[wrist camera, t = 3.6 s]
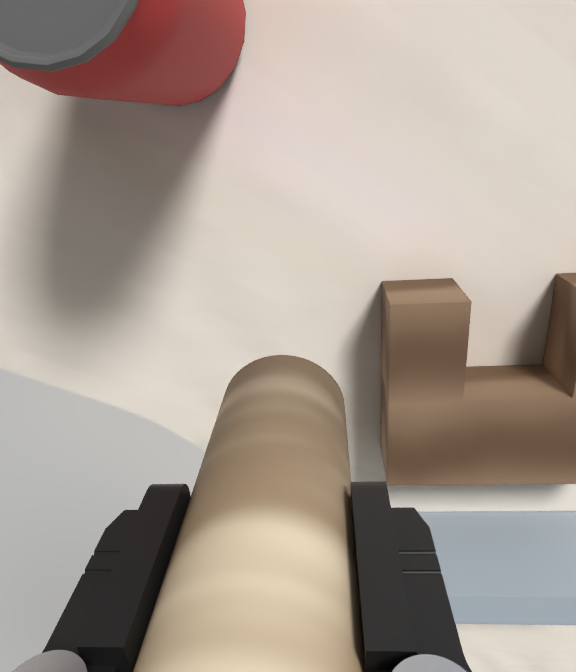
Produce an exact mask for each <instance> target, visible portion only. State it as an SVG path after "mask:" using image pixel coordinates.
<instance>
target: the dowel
mask: <svg viewBox="0 0 576 672" xmlns="http://www.w3.org/2000/svg"><path fill="white" fill-rule="evenodd" d="M350 483H351V474H350V463H349V451H348V440H347V428H346V417H345V405H344V399H343V395H342V392H341V390H340V388H339V386H338V384H337V383H336V381H335V380H334V379H333V377H332V376H331V375H330V374H329V373H328V372H327V371H326V370H324V369H323V368H322V367H320V366H319V365H317V364H315V363H313V362H311V361H309V360H306V359H304V358H300V357H296V356H289V355H275V356H268V357H264V358H261V359H258V360H255V361H253V362H251V363H249V364H248V365H246V366H245V367H243V368H242V369H241V370H240V371H238V372H237V373H236V375H235V376H234V377H233V378H232V380H231V381H230V383H229V385H228V387H227V389H226V392H225V395H224V398H223V401H222V404H221V407H220V410H219V413H218V416H217V419H216V422H215V425H214V428H213V431H212V434H211V437H210V440H209V443H208V446H207V449H206V452H205V456H204V459H203V462H202V465H201V468H200V471H199V474H198V477H197V480H196V483H195V486H194V489H193V492H192V495H191V498H190V501H189V504H188V507H187V510H186V513H185V516H184V519H183V522H182V525H181V528H180V531H179V534H178V537H177V540H176V543H175V546H174V549H173V552H172V555H171V558H170V561H169V564H168V567H167V570H166V573H165V577H164V580H163V583H162V586H161V589H160V592H159V595H158V598H157V601H156V604H155V607H154V610H153V613H152V616H151V619H150V622H149V625H148V628H147V631H146V634H145V637H144V640H143V643H142V646H141V649H140V652H139V655H138V658H137V661H136V664H135V667H134V670H133V672H365V668H364V656H363V644H362V631H361V619H360V607H359V595H358V582H357V570H356V558H355V545H354V533H353V521H352V509H351V494H350Z"/></svg>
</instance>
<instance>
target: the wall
mask: <svg viewBox="0 0 576 672" xmlns="http://www.w3.org/2000/svg"><path fill="white" fill-rule="evenodd" d="M418 513H419V515H420V516H421V517H422V518H423V520H424V521H425V522H426V523H427V525H428V526H429V527H430V530H431V534H432V538H433V542H434V546H435V549H436V555H437V557H438V561H439V564H440V568H441V575H442V576H443V580H444V583H445V587H446V591H447V595H448V598H449V602H450V606H451V610H452V614H453V617H454V621H455V624H521V625H576V511H537V512H418Z"/></svg>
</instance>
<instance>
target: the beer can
mask: <svg viewBox="0 0 576 672" xmlns="http://www.w3.org/2000/svg"><path fill="white" fill-rule="evenodd" d="M245 17H246V12H245V7H244V2H243V0H0V64H1V65H2V66H3V67H5V68H6V69H7V70H8V71H10V72H11V73H13V74H15V75H17V76H18V77H20V78H22V79H24V80H26V81H28V82H31V83H33V84H35V85H37V86H39V87H42V88H44V89H46V90H48V91H50V92H53V93H55V94H57V95H65V96H75V97H85V98H94V99H106V100H117V101H129V102H141V103H152V104H164V105H175V106H181V105H185V104H189V103H192V102H196V101H200V100H202V99H204V98H205V97H207V96H208V95H210V94H211V93H213V92H214V91H215V90H217V89H218V88H220V87H221V86H222V84H223V83H224V82H225V80H226V79H227V78H228V76H229V75H230V74H231V72H232V71H233V69H234V68H235V67H236V64H237V61H238V58H239V55H240V52H241V49H242V46H243V43H244V36H245Z"/></svg>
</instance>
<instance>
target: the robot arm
mask: <svg viewBox="0 0 576 672" xmlns="http://www.w3.org/2000/svg"><path fill="white" fill-rule="evenodd" d="M350 494H351V509H352V521H353V533H354V545H355V558H356V570H357V582H358V595H359V607H360V619H361V631H362V644H363V656H364V668H365V672H472V671H471V670H470V668H469V666H468V664H467V662H466V660H465V657H464V654H463V651H462V647H461V644H460V640H459V636H458V632H457V629H456V625H455V621H454V617H453V614H452V610H451V606H450V602H449V598H448V595H447V591H446V587H445V583H444V580H443V576H442V575H441V568H440V564H439V561H438V557H437V555H436V549H435V546H434V542H433V538H432V534H431V530H430V527H429V526H428V525H427V523H426V522H425V521H424V520H423V518H422V517H421V516H420V515H419V513H418V512H417V511H416V510H415V508H391V506H390V501H389V495H388V490H387V485H386V482H351V483H350ZM190 498H191V496H190V492H189V488H188V486H187V485H186V484H153V485H151V486H149V488H148V489H147V492H146V494H145V496H144V498H143V500H142V503H141V505H140V507H139V509H138V510H124V511H123V512H122V513H121V514H120V515H119V516H118V517H117V518H116V519H115V520H114V521H113V522H112V523H111V524H110V525H109V526H108V527H107V528H106V529H105V531H104V533H103V535H102V537H101V539H100V541H99V543H98V545H97V547H96V549H95V551H94V555H92V557H91V559H90V560H89V563H88V565H87V566H86V568H85V574H82V576H81V578H80V580H79V582H78V584H77V586H76V588H75V590H74V592H73V594H72V596H71V598H70V600H69V602H68V604H67V606H66V608H65V610H64V612H63V614H62V616H61V618H60V620H59V621H58V624H57V626H56V627H55V630H54V631H53V633H52V635H51V637H50V639H49V641H48V643H47V645H46V647H45V649H44V650H43V652H42V653H41V654H39V655H36V656H34V657H32V658H30V659H29V660H27V661H25V662H24V663H22V664H21V665H20V666H18V667H17V668H16V669H15V670H14V671H12V672H133V670H134V667H135V664H136V661H137V658H138V655H139V652H140V649H141V646H142V643H143V640H144V637H145V634H146V631H147V628H148V625H149V622H150V619H151V616H152V613H153V610H154V607H155V604H156V601H157V598H158V595H159V592H160V589H161V586H162V583H163V580H164V577H165V573H166V570H167V567H168V564H169V561H170V558H171V555H172V552H173V549H174V546H175V543H176V540H177V537H178V534H179V531H180V528H181V525H182V522H183V519H184V516H185V513H186V510H187V507H188V504H189V501H190Z"/></svg>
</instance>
